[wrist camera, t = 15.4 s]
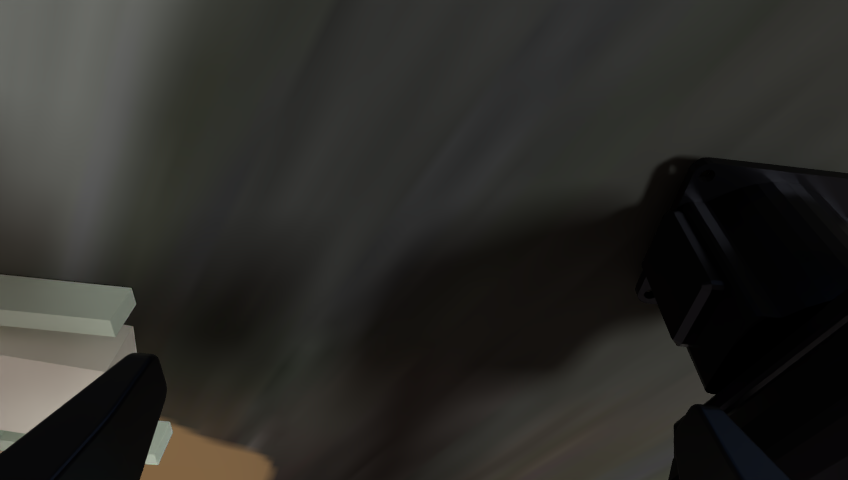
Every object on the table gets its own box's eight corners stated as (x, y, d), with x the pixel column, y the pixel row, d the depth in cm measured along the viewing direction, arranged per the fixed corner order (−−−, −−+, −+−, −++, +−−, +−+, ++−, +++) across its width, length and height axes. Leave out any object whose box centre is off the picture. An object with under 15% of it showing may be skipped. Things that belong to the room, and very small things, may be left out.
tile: (136, 321, 27) (105, 371, 24) (146, 397, 30) (120, 448, 28) (2, 298, 26) (-42, 348, 24) (29, 379, 30) (-8, 428, 27)
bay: (131, 287, 25) (110, 320, 23) (172, 432, 32) (158, 465, 30) (-77, 266, 25) (-113, 298, 23) (9, 416, 31) (-15, 449, 30)
